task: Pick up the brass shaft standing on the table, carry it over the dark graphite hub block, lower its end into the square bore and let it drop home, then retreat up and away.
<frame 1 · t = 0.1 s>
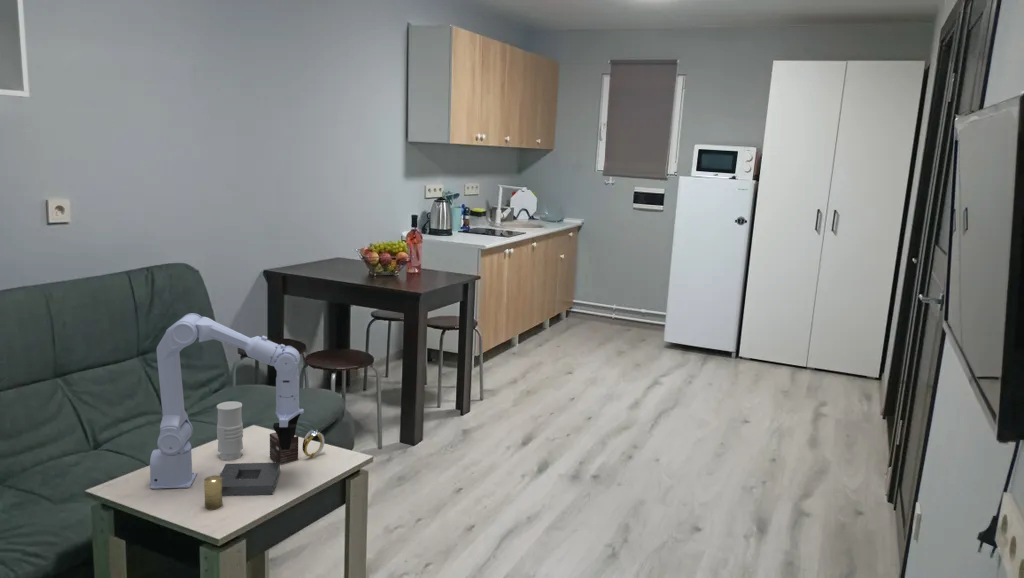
hand: (287, 443, 189), 10 cm above the table, fingers open, 7 cm apart
brass shaft: (213, 505, 174), on the table
hub block: (248, 483, 187), on the table
box: (284, 459, 203), on the table
ring: (313, 457, 205), on the table
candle: (230, 456, 203), on the table
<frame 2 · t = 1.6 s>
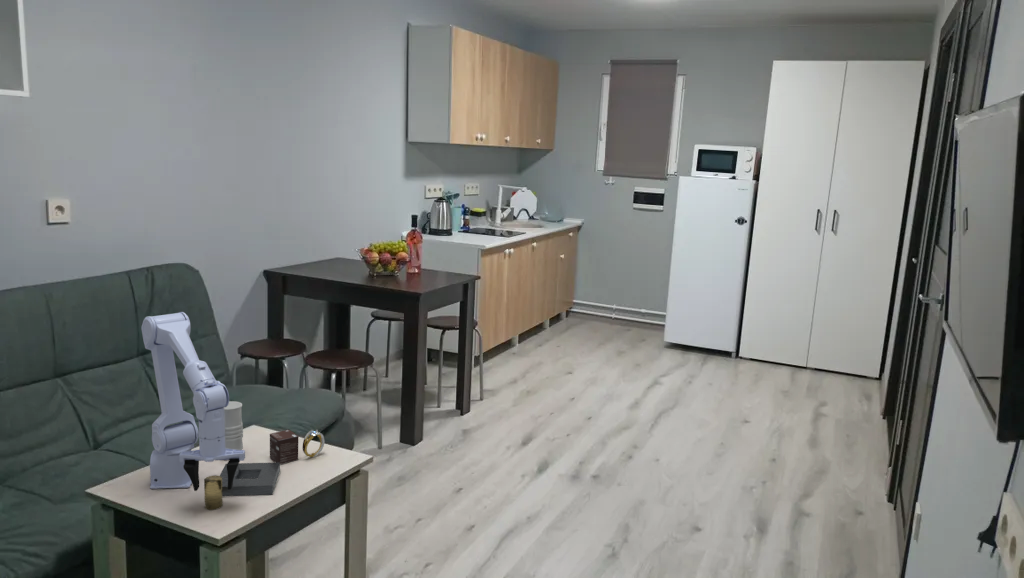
hand: (213, 488, 174), 5 cm above the table, fingers open, 7 cm apart
nothing on the table moved.
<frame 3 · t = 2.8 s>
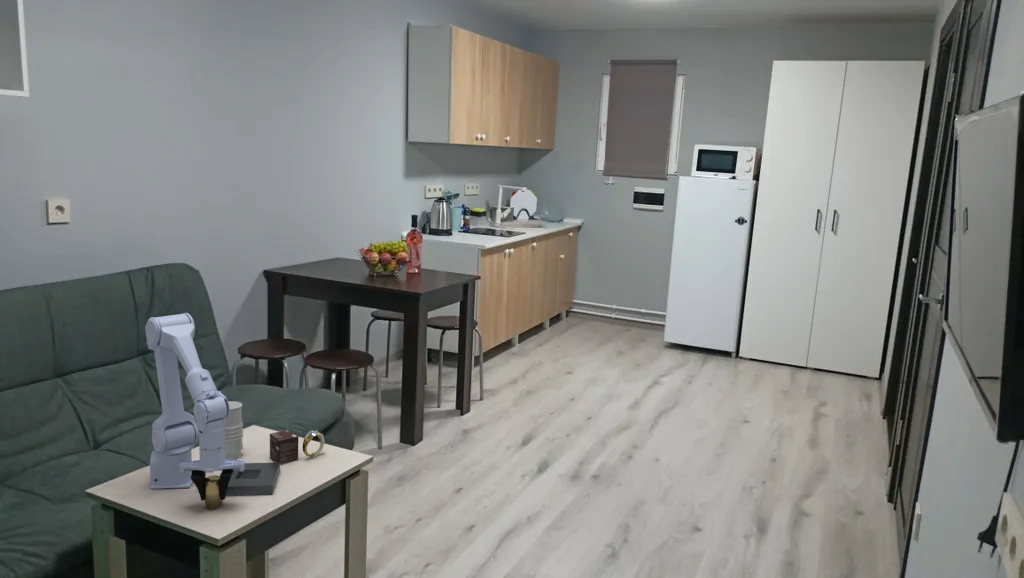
hand: (213, 498, 174), 2 cm above the table, fingers closed on brass shaft, 4 cm apart
brass shaft: (213, 505, 174), on the table, touching gripper
everything else where it was.
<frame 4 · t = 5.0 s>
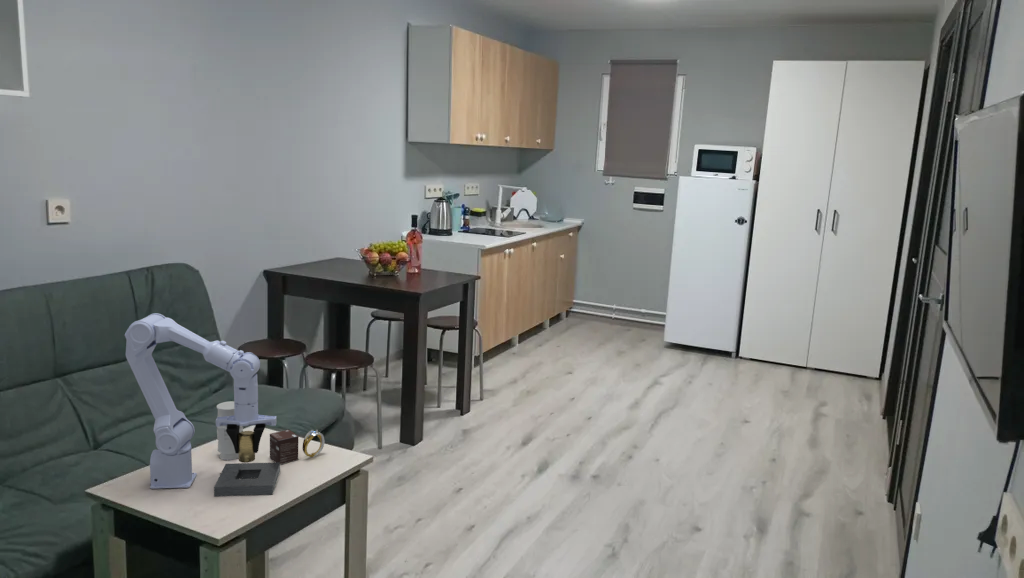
hand: (247, 451, 185), 9 cm above the table, fingers closed on brass shaft, 4 cm apart
brass shaft: (246, 459, 185), point 7 cm above the table, touching gripper
everything else where it was.
when the fingers open (4 cm above the table, at t = 6.9 s): brass shaft drops 2 cm, resting in hub block.
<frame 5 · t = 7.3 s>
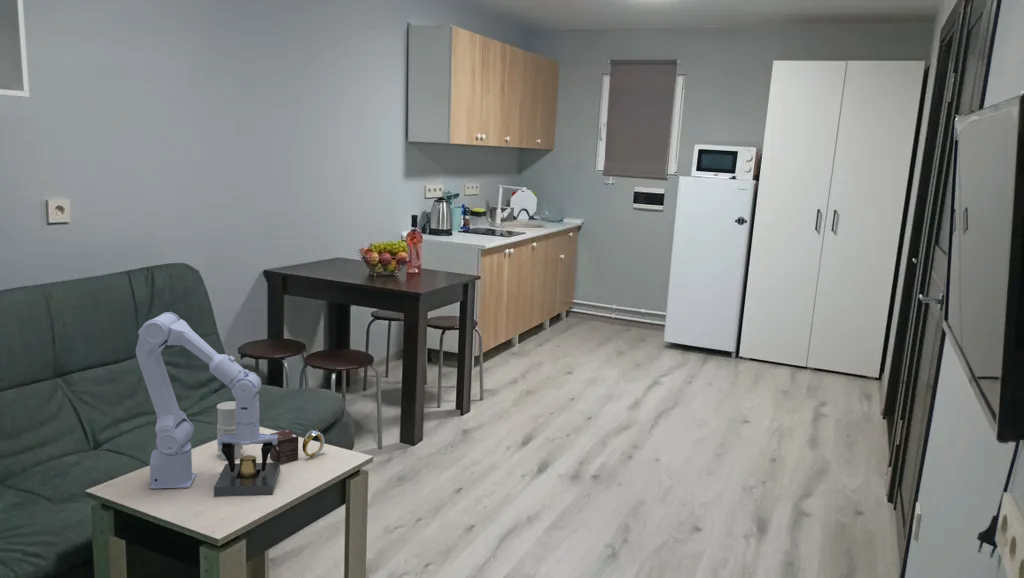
hand: (248, 470, 187), 4 cm above the table, fingers open, 7 cm apart
brass shaft: (248, 483, 187), resting in hub block
everything else where it was.
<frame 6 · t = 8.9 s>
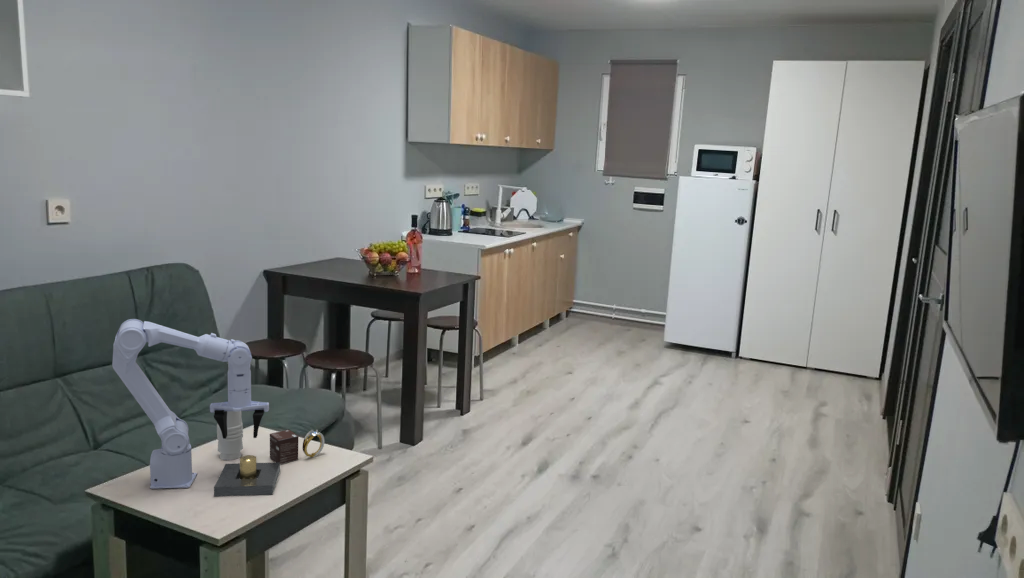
hand: (240, 436, 191), 10 cm above the table, fingers open, 7 cm apart
nothing on the table moved.
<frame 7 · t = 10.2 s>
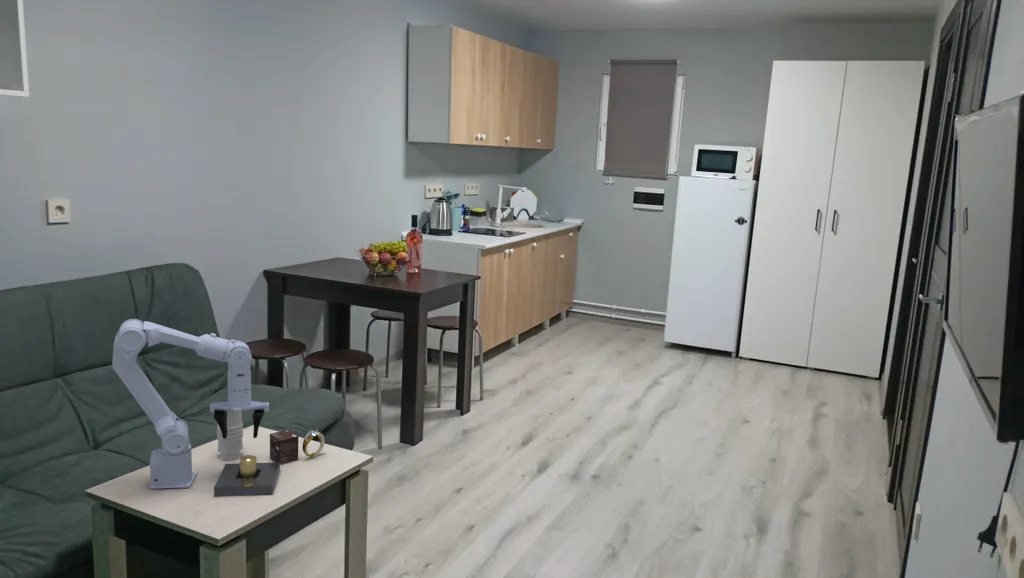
hand: (240, 436, 191), 10 cm above the table, fingers open, 7 cm apart
nothing on the table moved.
at the end: brass shaft 0.2 cm off-centre on the hub block, point 0.0 cm above the hub block's base; brass shaft tilted 1°; the gripper is holding nothing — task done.
